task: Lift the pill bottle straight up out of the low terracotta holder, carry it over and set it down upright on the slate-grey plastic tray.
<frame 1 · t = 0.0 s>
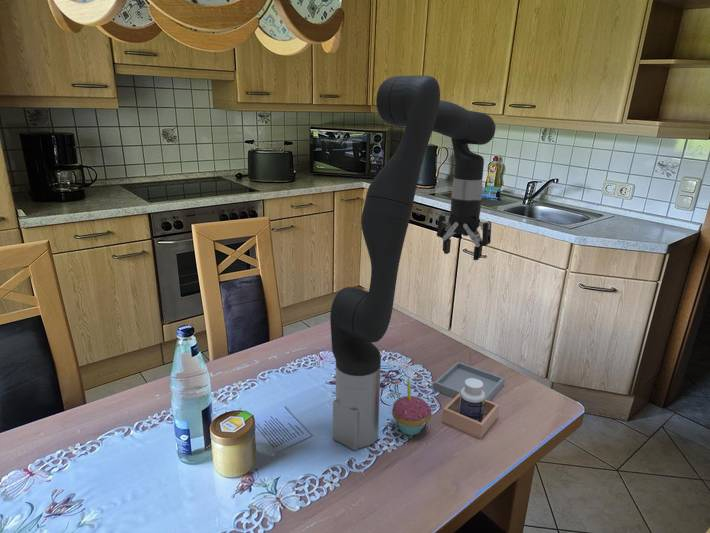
hand: (461, 256, 129), 29 cm above the table, fingers open, 8 cm apart
holder: (470, 419, 110), on the table
cupcake: (410, 429, 107), on the table
pill bottle: (470, 420, 110), resting in holder
tray: (468, 387, 122), on the table
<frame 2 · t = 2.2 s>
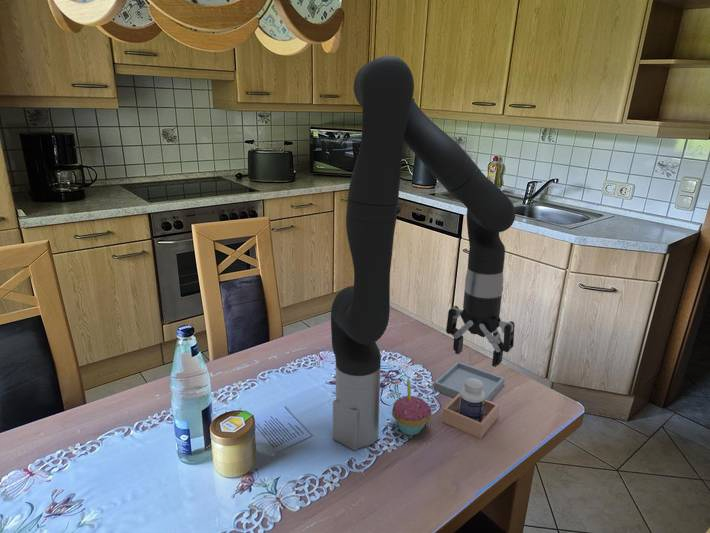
hand: (476, 358, 105), 16 cm above the table, fingers open, 8 cm apart
nothing on the table moved.
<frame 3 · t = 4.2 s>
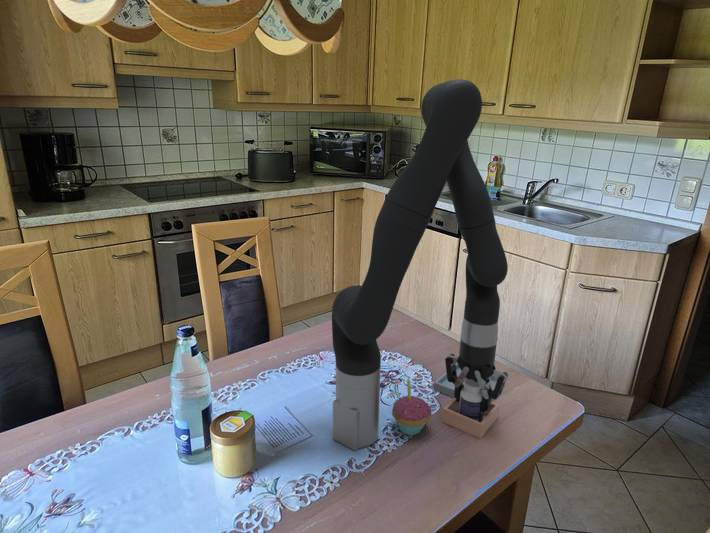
hand: (471, 404, 108), 4 cm above the table, fingers closed on pill bottle, 5 cm apart
pill bottle: (470, 420, 110), resting in holder, touching gripper
everything else where it was.
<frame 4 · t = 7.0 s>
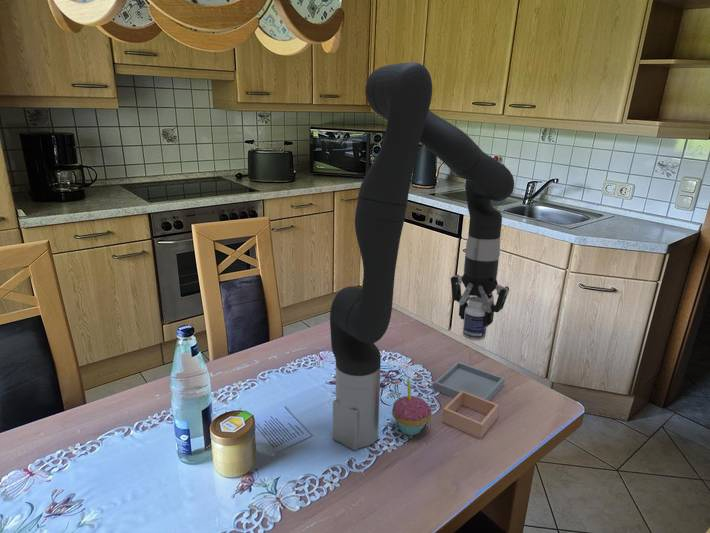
hand: (475, 321, 116), 18 cm above the table, fingers closed on pill bottle, 5 cm apart
pill bottle: (473, 337, 117), point 14 cm above the table, touching gripper
everything else where it was.
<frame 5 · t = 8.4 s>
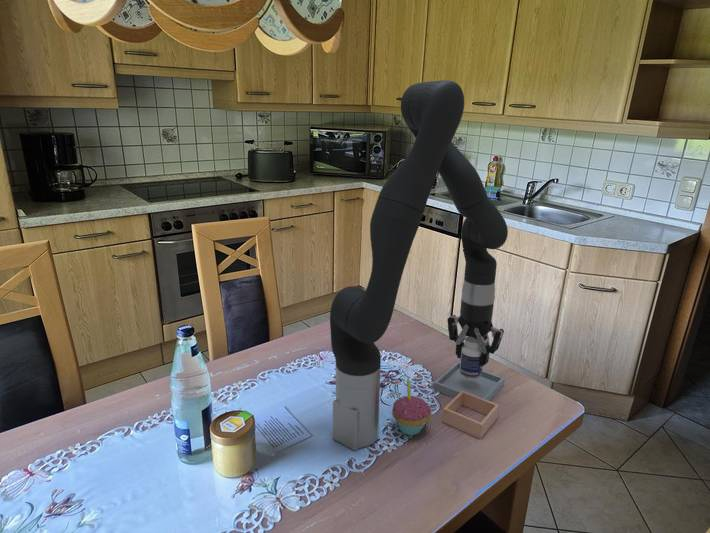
hand: (471, 360, 120), 8 cm above the table, fingers closed on pill bottle, 5 cm apart
pill bottle: (470, 375, 121), point 3 cm above the table, touching gripper
everything else where it was.
when the fingers open (6 cm above the table, at t = 9.7 s): pill bottle drops 1 cm, resting on tray.
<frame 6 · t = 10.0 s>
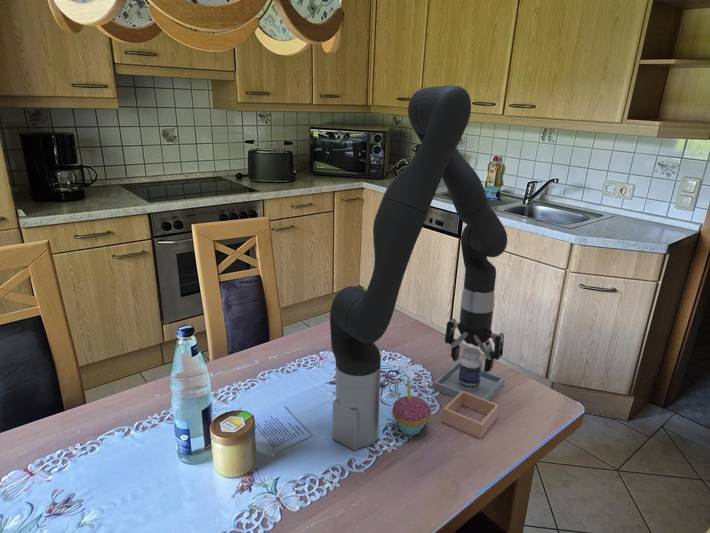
hand: (471, 365, 120), 6 cm above the table, fingers open, 8 cm apart
pill bottle: (468, 385, 122), resting on tray
everything else where it was.
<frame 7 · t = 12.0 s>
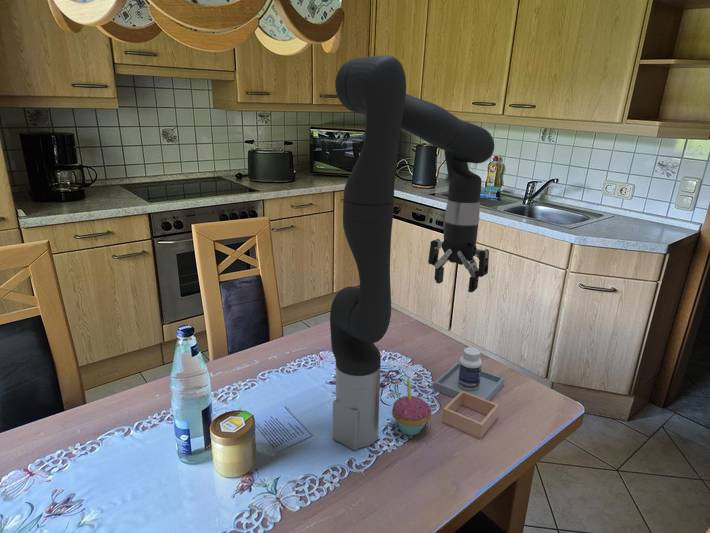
hand: (455, 287, 115), 27 cm above the table, fingers open, 8 cm apart
nothing on the table moved.
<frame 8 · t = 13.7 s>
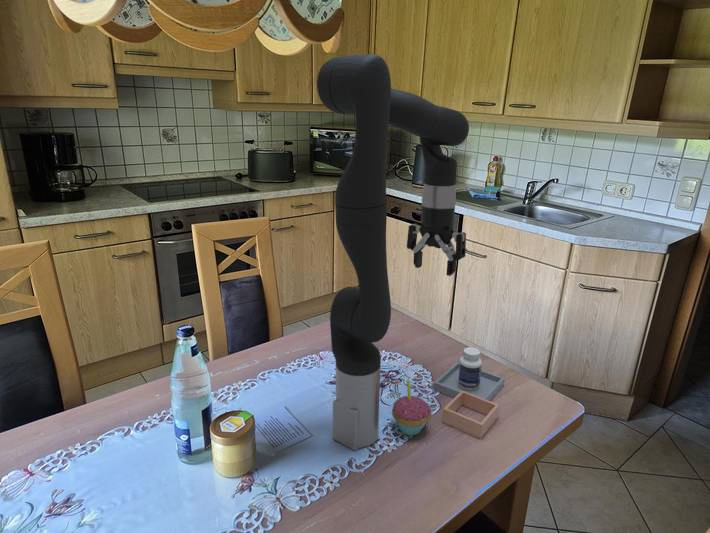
hand: (433, 270, 115), 30 cm above the table, fingers open, 8 cm apart
nothing on the table moved.
at the end: pill bottle inside the target area on the tray (0.2 cm from its centre), point 0.4 cm above the tray's base; pill bottle tilted 0°; the gripper is holding nothing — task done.
